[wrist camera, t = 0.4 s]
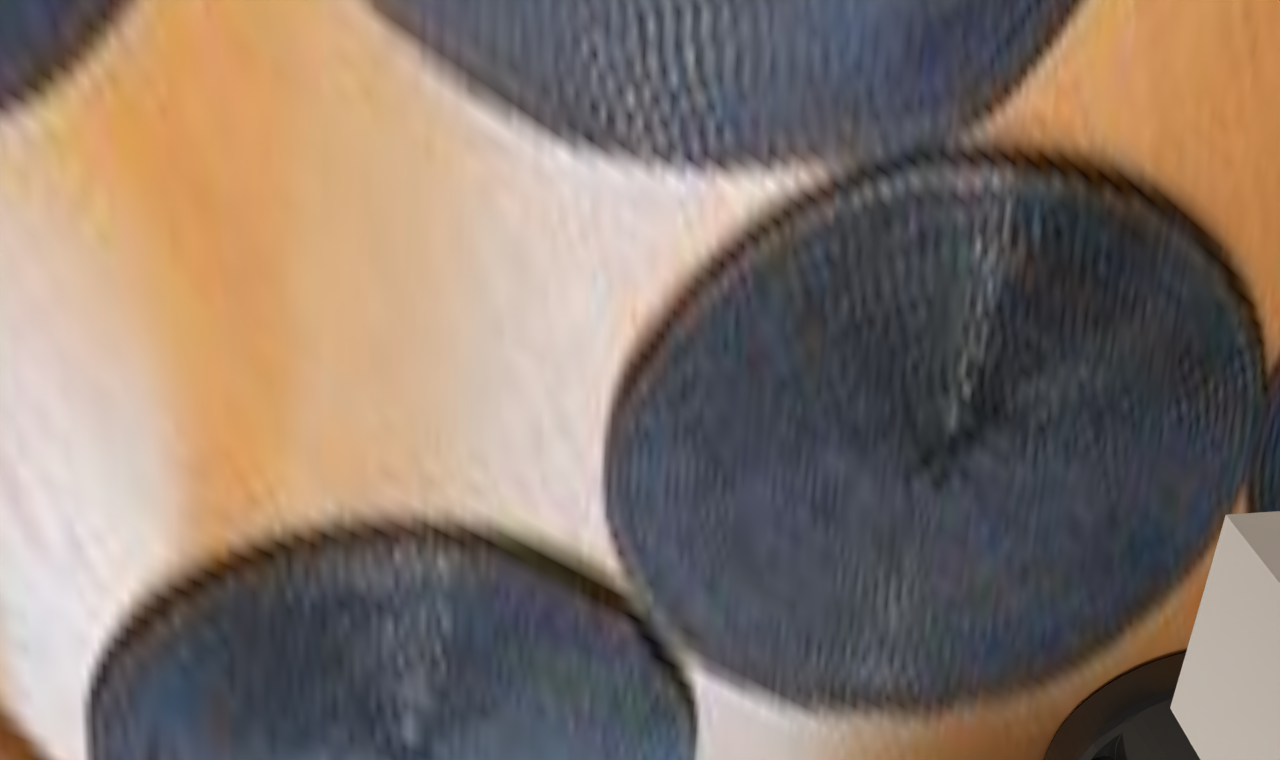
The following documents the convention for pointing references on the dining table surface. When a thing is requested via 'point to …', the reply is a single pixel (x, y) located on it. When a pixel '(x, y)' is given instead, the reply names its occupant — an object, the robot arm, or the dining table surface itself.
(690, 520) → the dining table surface
